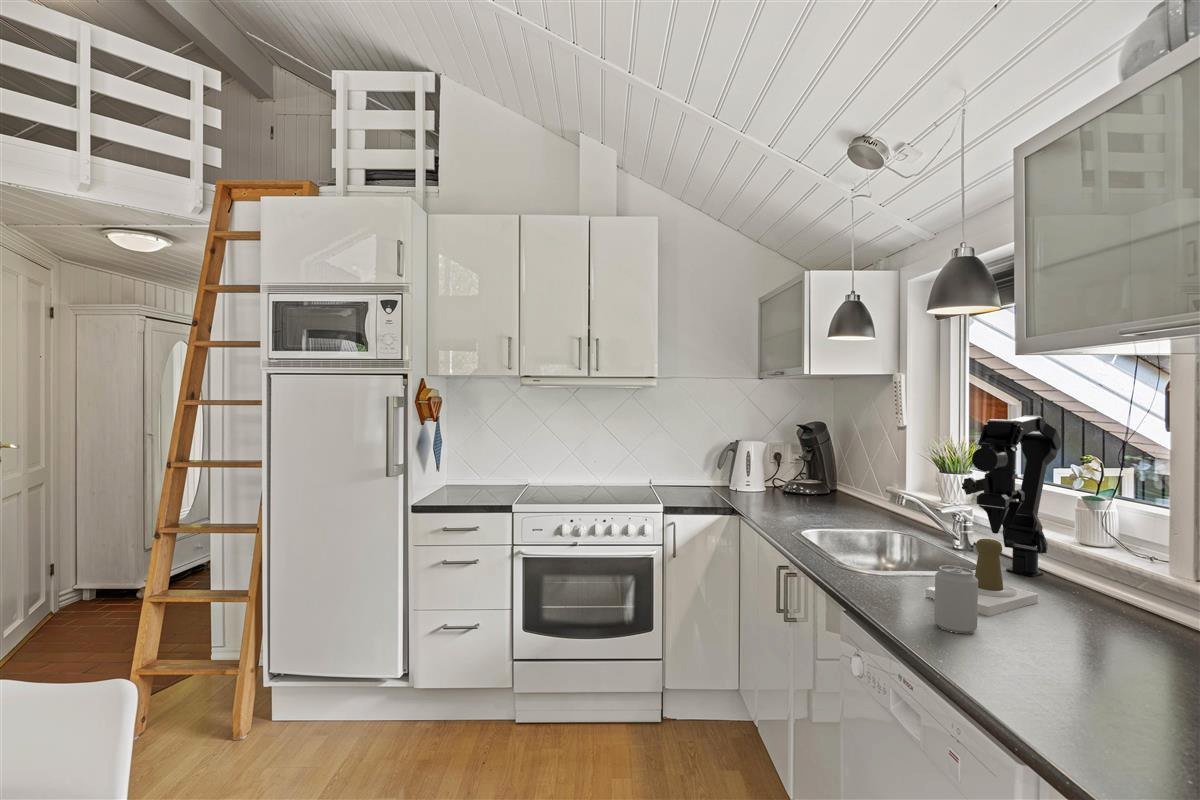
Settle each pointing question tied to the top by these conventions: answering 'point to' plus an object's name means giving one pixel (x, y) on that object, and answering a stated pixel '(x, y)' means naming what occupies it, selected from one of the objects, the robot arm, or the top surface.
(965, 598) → the can
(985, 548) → the cork
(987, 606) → the kitchen scale
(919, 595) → the top surface
